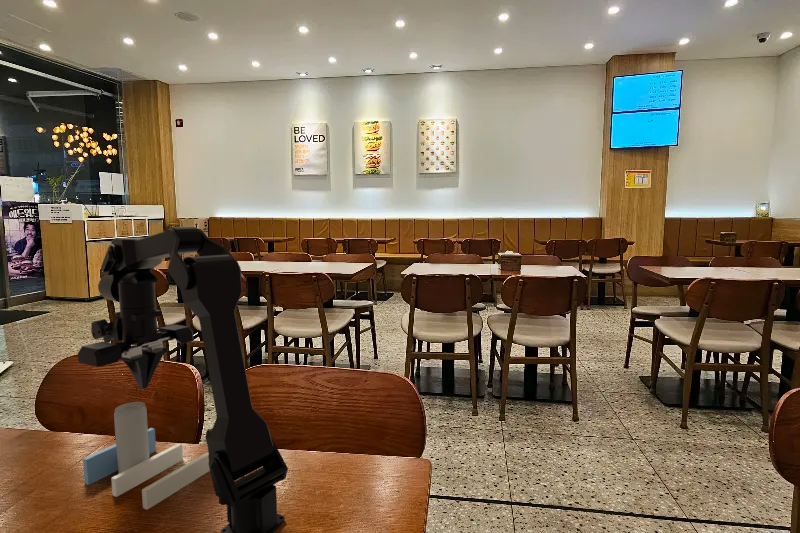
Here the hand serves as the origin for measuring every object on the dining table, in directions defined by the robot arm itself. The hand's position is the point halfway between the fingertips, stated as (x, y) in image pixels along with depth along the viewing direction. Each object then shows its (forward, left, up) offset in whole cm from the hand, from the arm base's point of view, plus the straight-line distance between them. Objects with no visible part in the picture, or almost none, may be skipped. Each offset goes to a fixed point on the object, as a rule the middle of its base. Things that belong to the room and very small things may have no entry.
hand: (143, 388), depth 83 cm
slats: (-7, +5, -13) cm, 16 cm away
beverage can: (-4, +5, -13) cm, 15 cm away
